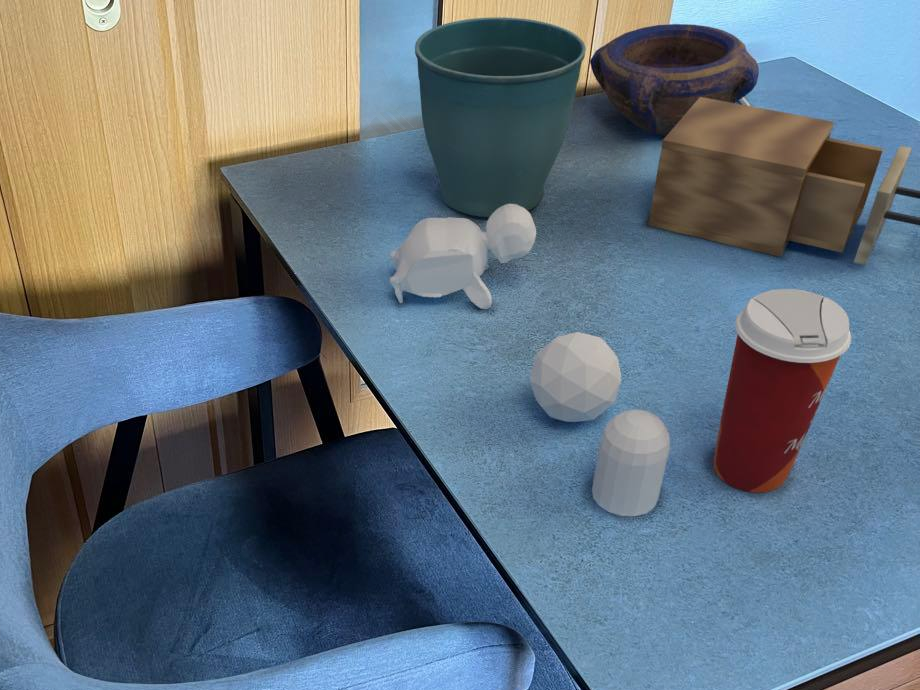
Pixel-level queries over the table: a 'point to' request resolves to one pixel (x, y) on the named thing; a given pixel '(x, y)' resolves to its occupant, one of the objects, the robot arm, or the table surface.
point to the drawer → (847, 197)
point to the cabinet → (735, 174)
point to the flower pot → (496, 107)
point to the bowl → (672, 72)
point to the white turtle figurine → (459, 253)
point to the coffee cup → (776, 384)
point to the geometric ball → (576, 377)
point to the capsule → (631, 463)
